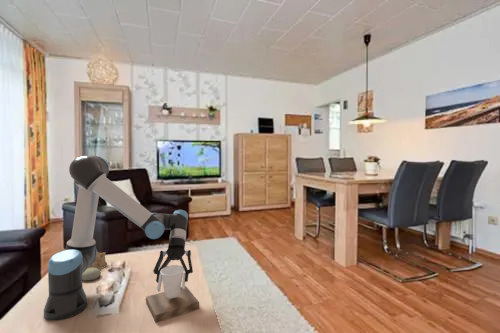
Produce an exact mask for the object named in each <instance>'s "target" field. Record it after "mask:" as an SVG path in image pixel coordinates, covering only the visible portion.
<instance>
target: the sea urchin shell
mask: <svg viewBox="0 0 500 333" xmlns="http://www.w3.org/2000/svg"><path fill="white" fill-rule="evenodd" d="M101 275H102V271H101V269H97V268H88V269H86V270H85V272H84V273H83V274H82V281H83V282H85V281H86V282H87V281H94V280H96V279H98V278H99V277H100V276H101Z"/></svg>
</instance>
